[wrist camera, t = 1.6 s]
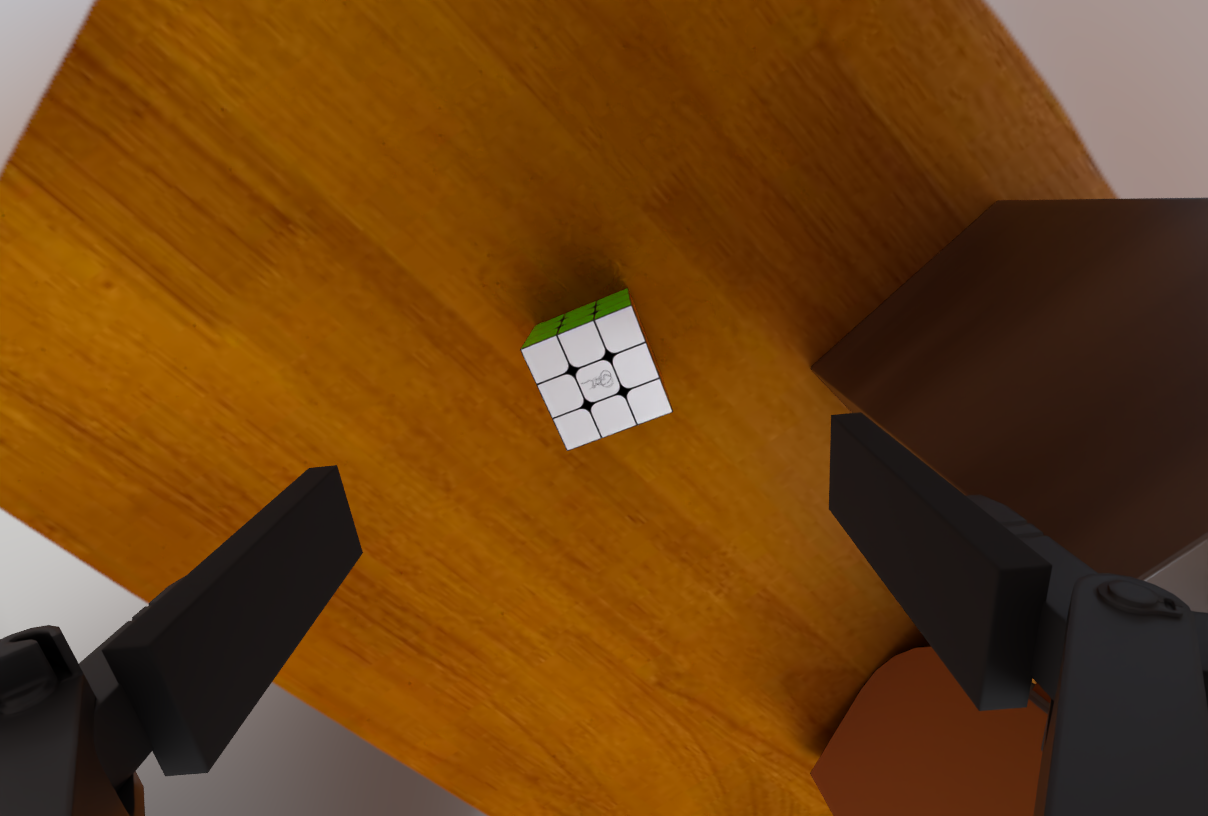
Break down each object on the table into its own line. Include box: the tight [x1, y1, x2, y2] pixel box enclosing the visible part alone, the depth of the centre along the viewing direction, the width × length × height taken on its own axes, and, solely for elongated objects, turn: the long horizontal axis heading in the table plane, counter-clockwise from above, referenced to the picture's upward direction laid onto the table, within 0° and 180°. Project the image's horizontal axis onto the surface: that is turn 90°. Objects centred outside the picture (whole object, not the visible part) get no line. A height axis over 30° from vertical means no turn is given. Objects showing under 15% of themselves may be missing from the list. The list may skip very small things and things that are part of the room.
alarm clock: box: [810, 647, 1051, 816], centre depth 29 cm, size 15×8×14 cm
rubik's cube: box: [520, 288, 673, 451], centre depth 26 cm, size 5×5×5 cm
